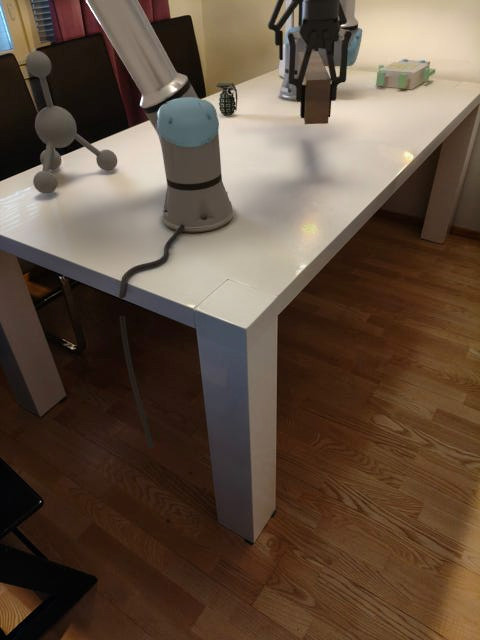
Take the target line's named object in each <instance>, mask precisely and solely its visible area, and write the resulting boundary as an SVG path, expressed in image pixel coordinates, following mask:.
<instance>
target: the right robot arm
mask: <svg viewBox="0 0 480 640" xmlns="http://www.w3.org/2000/svg"><path fill="white" fill-rule="evenodd" d="M302 1H303V0H292V2H291V4H290V5H289V7H288V8H287V10H286V9H285V11H284V13H283V14H282V16H281V17H280V18H279V20H278V16H279V14H280V11H281V9H282V7H283V4H284V2H285V0H277V1H276V3H275V5H274V9H273V11H272V13H271V15H270V19H269V21H268V22H267V27H268V29H269V30H271V31H273V32H274V44H275V47H276V46H277V47H278V59H279V61H280V60H283V45H284V44H285V76H284V78H283V80H282V84H281V87H280V91H279V98H280V99H282V100H285V101H292V102H297V101H296V86H295V85H292V84H289V81H288V74H289V51H290V44H289V40H288V36H287V35H288V33H289V32H294V31H297V30H299V28H300V26H294V28H291V29H289V30H288V31H287V32H286V31H285V41H284V32H283V30H282V29H283V27H284V25H286V21H287V19H288V18H289V17H290V15H291V14H292V12H293V11H294V12H295V9H296V8H297V7H299V4H300V5H302ZM355 11H356V0H339V13H338V23H339V26H340V28H341V29H344V30H350V32H351V33H352V35H351V38H350V41H349V43H348V56H347V67H352V66H353V65H355V63H356V61H357V60H358V55H359V53H360V47H361V44H362V37H363V29H362V28H361V27H359V21H358V19H357V18H356V17H355ZM277 20H278V21H277ZM276 21H277V22H276ZM295 44H296V54H295V74H294V78H297V77H298V52H305V47H306V43H305V41H304V40H303V38H302V37H301V35H300V36H299V37H298V42H297V43H295ZM331 47H332V54H333V59H334V65H335V67H340V54H341V40H340V35H339V34H338V35H337V36H336V37H335V39H334V40H333V42H332V43H331ZM312 51H318V53H319V55H320V57H321V59H322V62H323V64H324V66H325V67H328V62H327V57H326V52H325V49H321V48H317V49H312Z"/></svg>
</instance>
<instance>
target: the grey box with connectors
mask: <svg viewBox="0 0 480 640" xmlns="http://www.w3.org/2000/svg"><path fill="white" fill-rule="evenodd" d="M430 66H431V61H428V60H427V61H426V60H425V59H421V60H415V59H414V60H413V59H408V58H403V59H401V60H399V61H393V62H391V63H389V64H387V65H384V64H379V65H378V69H377V73H376V81H375V86H376V87H384V88H394V89H395V88H397V89H406V90H413V89H415V88H417V87H418V86H420V85H421V84H423V83H426V82H429V79H430V77H431V76H433V75H435V74H436V70H437V68H430Z"/></svg>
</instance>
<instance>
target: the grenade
mask: <svg viewBox="0 0 480 640" xmlns="http://www.w3.org/2000/svg"><path fill="white" fill-rule="evenodd" d="M215 87H217V88H219V89H221V93H219V97H218V101H219V102H218V106H219V108H218V109H219V112H220V114H221V115H222V116H224V117H231V116H233V115H234V113H235V112H236V111H237V108H238V89H237V87H236V85H235V84H234V83H233V82H218V83H217V84H216V86H215ZM232 91H233V92H232ZM234 94H235V96H234Z"/></svg>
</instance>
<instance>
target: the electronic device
mask: <svg viewBox="0 0 480 640" xmlns="http://www.w3.org/2000/svg"><path fill="white" fill-rule="evenodd" d="M291 2H292V0H285V11H286V10H287V8H288V7H289V5H290V4H291ZM297 21H298V23H297V24H298V26H301V23H302V5H300V4H298V20H297ZM294 22H295V10H294V11H293V12H292V14H291V15H290V17H289V18H288V19H287V21H286V22H285V33H286V32H287V31H288V30H289V29H291V28H294V27H295V26H294V25H295V23H294ZM278 74H279V75H280V76H281V78H283V79H284V76H285V43H283V60H280V59H279V67H278Z"/></svg>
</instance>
